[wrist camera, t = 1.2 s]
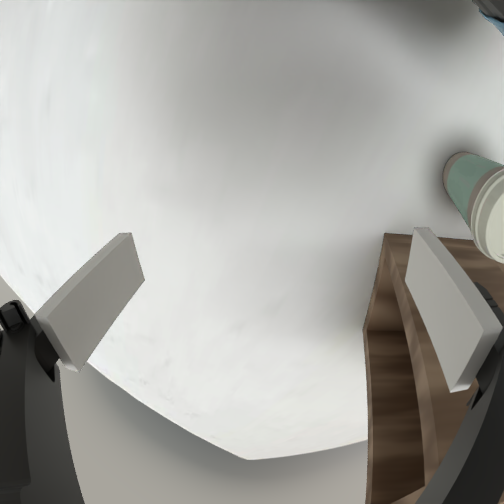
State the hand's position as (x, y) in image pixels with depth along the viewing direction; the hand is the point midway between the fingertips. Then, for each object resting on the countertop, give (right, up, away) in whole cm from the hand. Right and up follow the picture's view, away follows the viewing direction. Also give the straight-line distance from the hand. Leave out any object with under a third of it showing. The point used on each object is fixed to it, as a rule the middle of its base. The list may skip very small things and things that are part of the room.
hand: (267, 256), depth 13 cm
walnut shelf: (+23, -5, +22) cm, 32 cm away
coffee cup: (+23, +9, +13) cm, 28 cm away
